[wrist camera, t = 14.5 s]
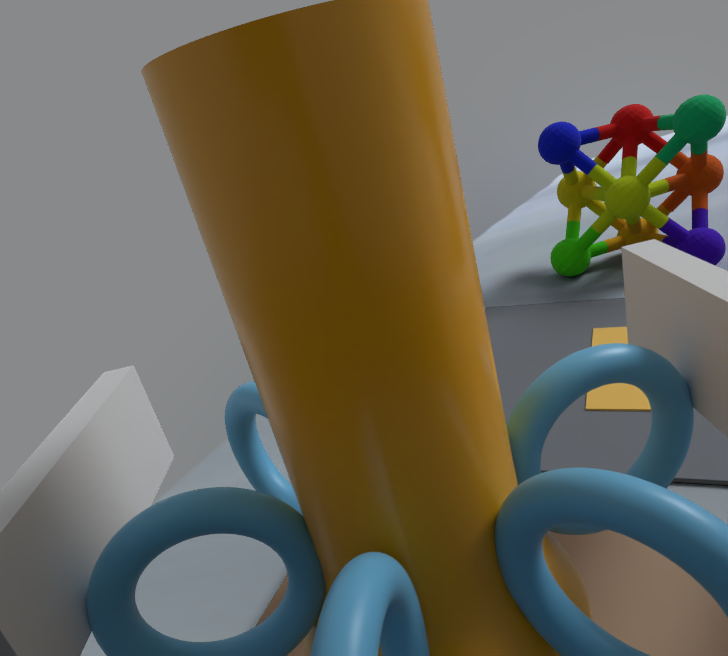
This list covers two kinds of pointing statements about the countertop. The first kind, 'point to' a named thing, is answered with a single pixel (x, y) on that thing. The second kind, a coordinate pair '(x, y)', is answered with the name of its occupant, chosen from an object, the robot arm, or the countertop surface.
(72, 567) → the robot arm
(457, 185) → the cylinder
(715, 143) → the countertop surface
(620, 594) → the board
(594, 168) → the molecular model
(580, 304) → the mat
